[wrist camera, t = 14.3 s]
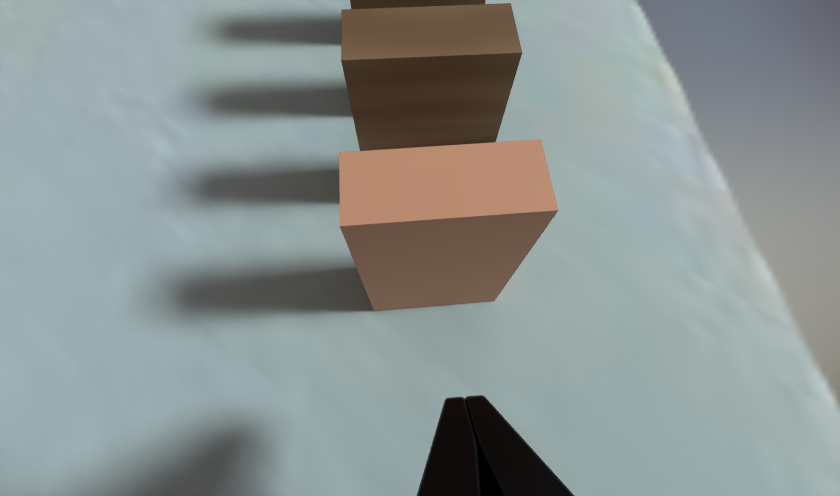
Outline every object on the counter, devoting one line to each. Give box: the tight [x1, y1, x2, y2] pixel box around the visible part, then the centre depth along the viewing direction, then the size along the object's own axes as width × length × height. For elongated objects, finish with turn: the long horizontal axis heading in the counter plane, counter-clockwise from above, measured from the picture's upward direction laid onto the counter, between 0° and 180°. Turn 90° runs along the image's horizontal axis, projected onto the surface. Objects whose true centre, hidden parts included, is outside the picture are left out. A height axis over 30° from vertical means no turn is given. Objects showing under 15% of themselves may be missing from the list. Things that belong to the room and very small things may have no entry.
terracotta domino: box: [339, 139, 558, 311], centre depth 13 cm, size 2×5×8 cm, turn 95°
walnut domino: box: [341, 3, 522, 151], centre depth 15 cm, size 2×5×8 cm, turn 94°
